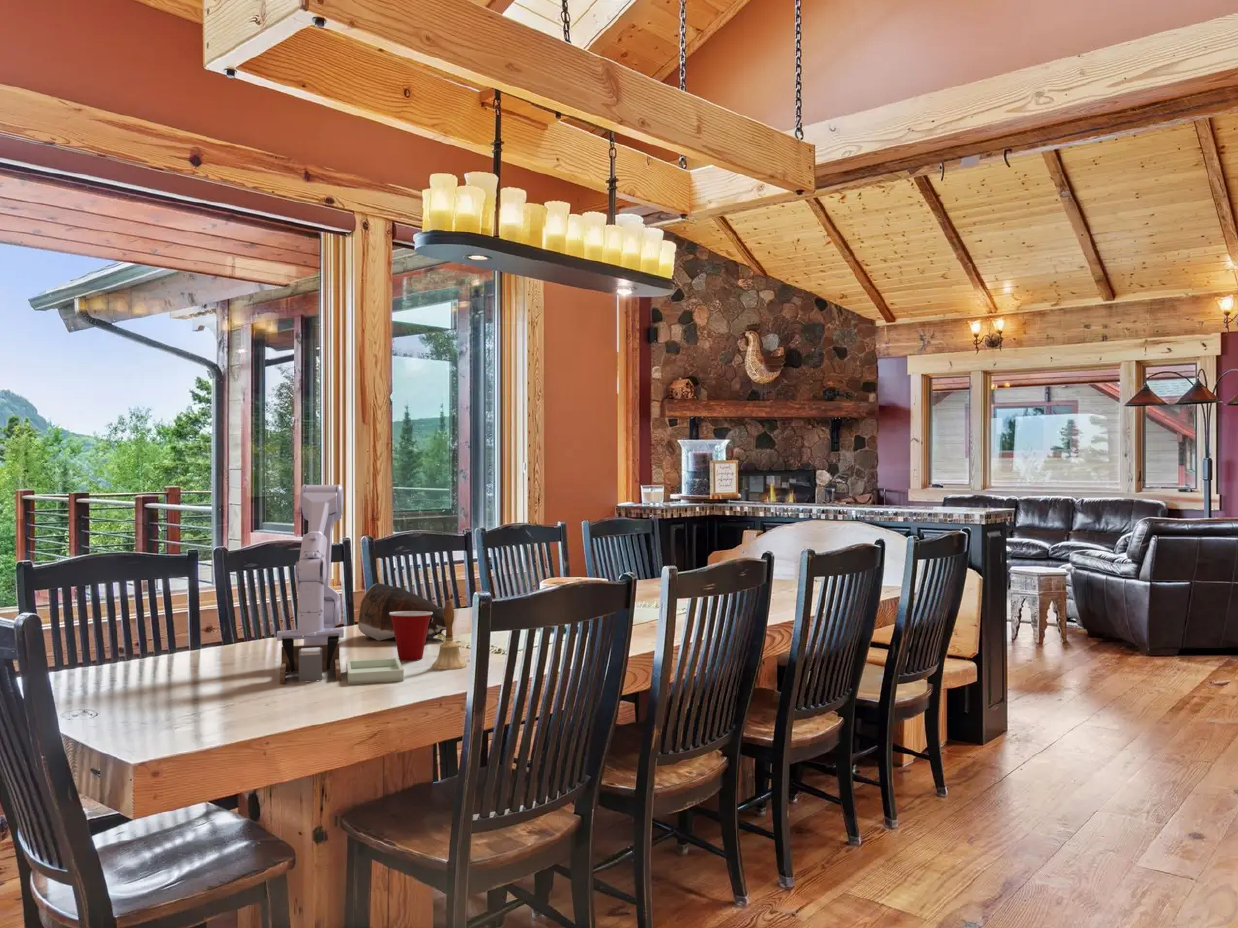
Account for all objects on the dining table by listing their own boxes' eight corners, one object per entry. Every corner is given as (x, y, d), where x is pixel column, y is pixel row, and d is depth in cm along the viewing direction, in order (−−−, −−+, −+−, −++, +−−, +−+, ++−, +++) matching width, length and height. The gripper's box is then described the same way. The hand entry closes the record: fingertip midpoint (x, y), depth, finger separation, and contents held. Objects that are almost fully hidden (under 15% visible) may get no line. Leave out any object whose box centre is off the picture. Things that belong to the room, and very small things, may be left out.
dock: (281, 671, 223) (281, 646, 223) (339, 668, 227) (339, 643, 227) (279, 684, 211) (279, 657, 211) (340, 680, 215) (340, 653, 215)
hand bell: (459, 670, 225) (459, 603, 225) (426, 669, 227) (426, 602, 227) (471, 663, 234) (471, 598, 234) (439, 662, 235) (440, 597, 235)
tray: (346, 671, 224) (346, 660, 224) (398, 668, 228) (398, 657, 228) (348, 684, 211) (348, 673, 211) (403, 680, 214) (403, 669, 214)
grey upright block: (299, 675, 221) (299, 648, 221) (321, 673, 222) (321, 646, 222) (298, 682, 213) (298, 654, 213) (322, 681, 215) (322, 653, 215)
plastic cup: (438, 654, 244) (438, 608, 244) (425, 663, 233) (425, 614, 233) (397, 653, 245) (397, 607, 245) (382, 662, 234) (382, 613, 235)
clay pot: (446, 601, 257) (364, 581, 263) (432, 658, 256) (351, 635, 262) (467, 601, 271) (389, 581, 277) (454, 654, 270) (376, 633, 276)
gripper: (276, 615, 212) (276, 675, 212) (344, 612, 216) (344, 671, 216) (277, 610, 218) (277, 669, 218) (343, 607, 223) (343, 665, 223)
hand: (310, 670), depth 218 cm, fingers open, 7 cm apart
